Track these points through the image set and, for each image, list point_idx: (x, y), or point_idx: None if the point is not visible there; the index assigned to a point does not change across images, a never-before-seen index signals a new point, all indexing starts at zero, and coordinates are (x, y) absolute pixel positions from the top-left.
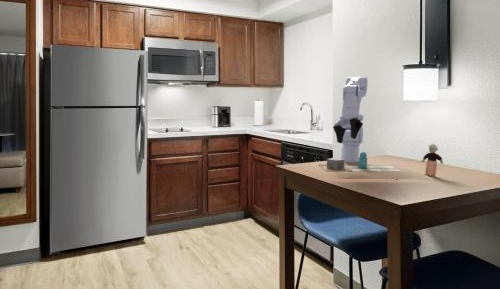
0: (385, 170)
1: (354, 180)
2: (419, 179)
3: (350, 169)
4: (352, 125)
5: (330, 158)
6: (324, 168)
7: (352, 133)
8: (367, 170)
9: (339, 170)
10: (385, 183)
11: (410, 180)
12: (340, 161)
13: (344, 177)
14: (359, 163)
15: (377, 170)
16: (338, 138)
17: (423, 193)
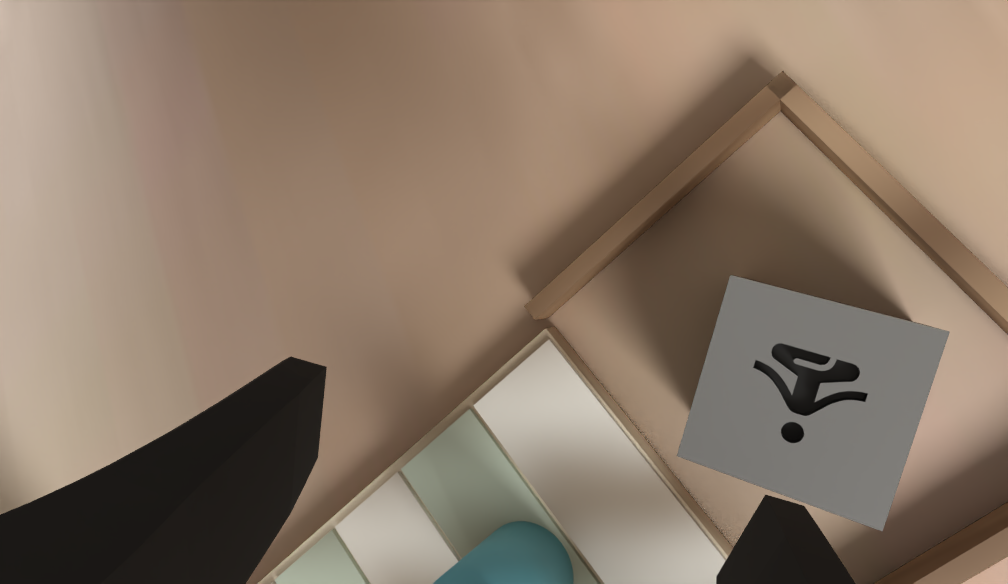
0: (315, 567)
1: (410, 45)
2: (103, 459)
3: (596, 399)
4: (14, 545)
5: (918, 411)
6: (885, 198)
7: (227, 399)
8: (435, 458)
9: (651, 215)
10: (210, 137)
11: (131, 378)
12: (705, 371)
13: (533, 93)
14: (527, 552)
15: (366, 521)
16: (785, 568)
17: (5, 44)
